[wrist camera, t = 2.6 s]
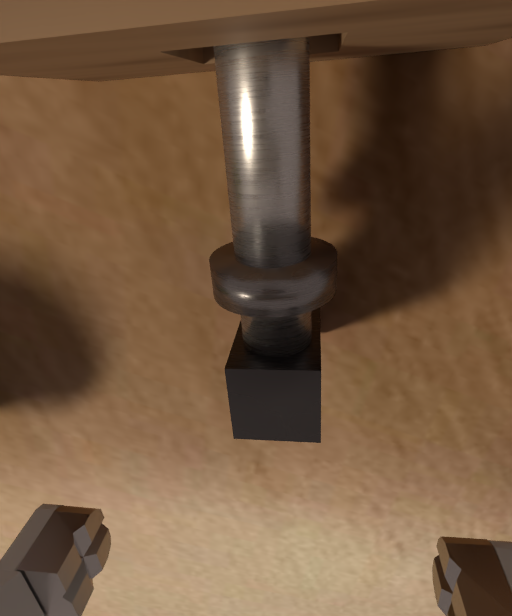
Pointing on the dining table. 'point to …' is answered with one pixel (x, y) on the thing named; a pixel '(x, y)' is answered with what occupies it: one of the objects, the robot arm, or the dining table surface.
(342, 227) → the dining table surface
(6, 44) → the block
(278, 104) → the metal shaft with collar
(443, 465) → the dining table surface
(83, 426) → the dining table surface
